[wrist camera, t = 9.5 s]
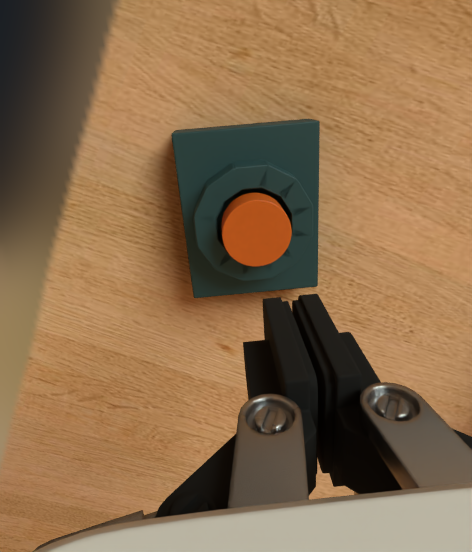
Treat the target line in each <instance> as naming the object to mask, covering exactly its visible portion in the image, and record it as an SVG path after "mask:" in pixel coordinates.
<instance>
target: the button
mask: <svg viewBox="0 0 472 552" xmlns="http://www.w3.org/2000/svg"><path fill="white" fill-rule="evenodd" d="M221 227H222V239H223V243H224V246H225V249H226V250H227V252H228V253H229V255H230V256H231V257H232V258H233V259H235V260H236V261H237V262H239V263H241V264H244V265H247V266H264V265H267V264H270V263H272V262H274V261H276V260H277V259H278V258H280V257H281V256H282V255H283V253H284V252H285V251H286V249H287V248H288V246H289V243H290V240H291V235H292V229H291V223H290V220H289V218H288V216H287V214H286V213H285V211H284V210H283V208H282V207H281V205H280V204H279V203H278V202H277V201H276V200H275V199H274V198H272V197H270V196H269V195H266V194H263V193H247V194H244V195H241V196H239V197H237V198H236V199H234V200H233V201H232V202H231V203H230V204H229V205H228V207H227V208H226V210H225V212H224V214H223V217H222V223H221Z"/></svg>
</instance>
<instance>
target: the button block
mask: <svg viewBox="0 0 472 552" xmlns="http://www.w3.org/2000/svg"><path fill="white" fill-rule="evenodd" d="M172 142H173V150H174V157H175V164H176V171H177V179H178V186H179V193H180V200H181V208H182V215H183V222H184V229H185V237H186V244H187V251H188V258H189V266H190V273H191V280H192V287H193V295H194V298H201V297H211V296H222V295H233V294H243V293H254V292H264V291H275V290H285V289H296V288H306V287H316V286H317V285H318V202H319V121H317V120H313V119H301V120H289V121H278V122H266V123H255V124H243V125H231V126H220V127H208V128H197V129H185V130H176V131H174V132H173V133H172ZM247 193H263V194H266V195H269V196H270V197H272V198H274V199H275V200H276V201H277V202H278V203H279V204H280V205H281V207H282V208H283V210H284V211H285V213H286V214H287V216H288V218H289V220H290V223H291V229H292V235H291V240H290V243H289V246H288V248H287V249H286V251H285V252H284V253H283V255H282V256H281V257H280V258H278V259H277V260H276V261H274V262H272V263H270V264H267V265H264V266H247V265H244V264H241V263H239V262H237V261H236V260H235V259H233V258H232V257H231V256H230V255H229V253H228V252H227V250H226V249H225V246H224V243H223V239H222V227H221V223H222V217H223V214H224V212H225V210H226V208H227V207H228V205H229V204H230V203H231V202H232V201H233V200H234V199H236V198H237V197H239V196H241V195H244V194H247Z"/></svg>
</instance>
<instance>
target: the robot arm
mask: <svg viewBox="0 0 472 552" xmlns="http://www.w3.org/2000/svg"><path fill="white" fill-rule="evenodd" d="M263 318H264V336H265V340H261V341H251V342H243V347H244V360H245V371H246V381H247V390H248V399H249V400H248V401H247V402H246V403H245V404H244V405H243V406H242V407H241V409H240V412H239V416H238V425H237V433H236V434H235V435H234V436H233V437H232V438H231V439H230V440H229V441H228V442H227V443H226V444H225V445H223V446H222V447H221V448H220V449H219V450H218V451H217V452H216V453H215V454H214V455H213V456H212V457H211V458H209V459H208V460H207V461H206V462H205V463H204V464H203V465H202V466H201V467H200V468H199V469H198V470H197V471H195V472H194V473H193V474H192V475H191V476H190V477H189V478H188V479H187V480H186V481H185V482H184V483H182V484H181V485H180V486H179V487H178V488H177V489H176V490H175V491H174V492H173V493H172V494H171V495H170V496H168V497H167V498H166V500H165V501H164V502H163V503H162V504H161V506H160V507H159V509H158V511H156V512H153V513H150V514H147V515H144V513H143V510H141V511H138V512H135V513H132V514H129V515H126V516H123V517H120V518H117V519H114V520H111V521H108V522H105V523H101V524H98V525H95V526H92V527H89V528H86V529H83V530H80V531H77V532H74V533H71V534H68V535H65V536H62V537H59V538H56V539H53V540H50V541H48V542H46V543H44V544H42V545H40V546H39V547H37V548H36V549H35V550H34V551H33V552H472V437H471V436H468V435H466V434H464V433H461V432H459V431H457V430H454V429H452V428H451V427H450V426H449V425H448V424H447V423H446V422H445V421H444V420H443V419H442V418H441V417H440V416H439V415H438V414H437V413H436V412H435V411H434V410H433V409H432V407H431V406H430V405H429V404H428V403H427V402H426V401H425V400H424V399H423V398H422V397H421V396H420V395H419V394H417V393H416V392H415V391H413V390H411V389H409V388H408V387H406V386H402V385H399V384H396V383H387V382H384V383H381V382H380V380H379V378H378V377H377V375H376V374H375V372H374V370H373V369H372V367H371V365H370V364H369V362H368V360H367V359H366V357H365V355H364V354H363V352H362V350H361V349H360V347H359V345H358V344H357V342H356V340H355V339H354V337H353V336H352V334H351V333H350V332H344V333H339V332H338V330H337V329H336V327H335V325H334V323H333V321H332V320H331V318H330V316H329V314H328V312H327V310H326V309H325V307H324V305H323V303H322V301H321V300H320V298H319V296H318V295H317V294H310V295H299V297H298V300H295V301H293V302H292V310H291V308H290V305H289V303H288V301H284V302H282V300H281V297H278V298H268V299H263ZM317 457H318V461H319V464H320V468H321V471H322V473H330V477H331V480H332V483H333V486H334V487H336V486H346V487H348V488H350V489H351V490H353V491H354V495H349V496H340V497H330V498H321V499H312V500H309V495H310V493H311V492H312V491H313V489H314V488H315V487H316V474H317Z"/></svg>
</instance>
